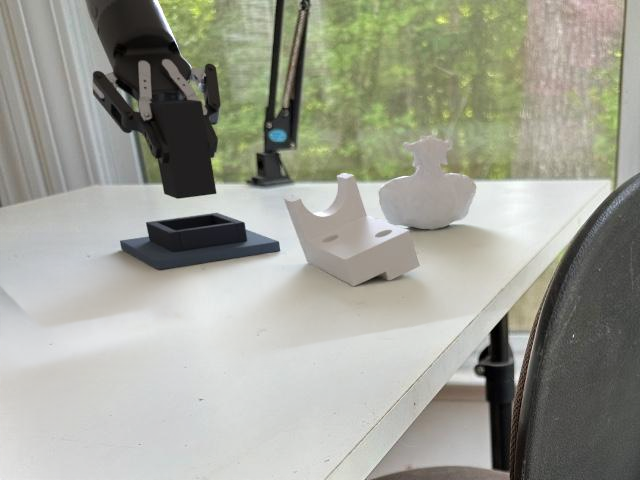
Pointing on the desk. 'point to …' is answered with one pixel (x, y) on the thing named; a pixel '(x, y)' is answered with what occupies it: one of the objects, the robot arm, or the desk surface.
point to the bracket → (352, 238)
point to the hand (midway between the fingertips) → (188, 154)
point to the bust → (427, 189)
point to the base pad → (196, 241)
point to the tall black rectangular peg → (184, 149)
